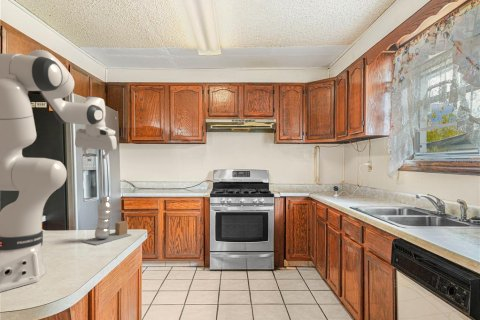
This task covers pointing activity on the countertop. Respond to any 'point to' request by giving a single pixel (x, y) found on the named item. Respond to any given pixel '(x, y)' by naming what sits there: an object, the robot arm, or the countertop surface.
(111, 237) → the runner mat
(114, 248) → the countertop surface
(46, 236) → the countertop surface
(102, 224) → the plastic bottle
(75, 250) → the countertop surface
